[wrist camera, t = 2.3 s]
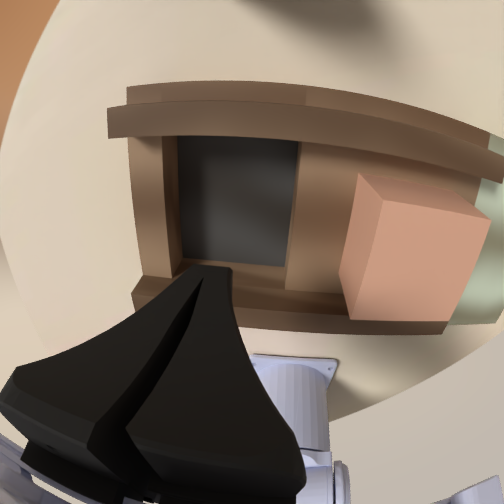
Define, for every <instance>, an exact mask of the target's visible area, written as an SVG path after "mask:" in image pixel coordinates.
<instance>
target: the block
mask: <svg viewBox="0 0 504 504" xmlns="http://www.w3.org/2000/svg"><path fill="white" fill-rule="evenodd" d="M491 221H492V220H491V219H489V218H488V217H487V216H486V215H485V214H483V213H482V212H481V211H480V210H478V209H477V208H476V207H474V206H473V205H472V204H470V203H469V202H468V201H466V200H465V199H464V198H462V197H461V196H460V195H458V194H457V193H456V192H454V191H452V190H448V189H443V188H439V187H434V186H430V185H425V184H420V183H415V182H410V181H405V180H399V179H394V178H388V177H382V176H376V175H370V174H364V173H358V179H357V185H356V191H355V196H354V202H353V207H352V212H351V218H350V223H349V227H348V232H347V237H346V242H345V246H344V251H343V255H342V260H341V264H340V268H339V272H338V274H339V277H340V281H341V285H342V289H343V292H344V296H345V300H346V304H347V308H348V312H349V317H350V319H351V320H379V321H449V320H450V318H451V316H452V314H453V312H454V310H455V308H456V306H457V304H458V302H459V300H460V298H461V296H462V294H463V292H464V290H465V287H466V285H467V283H468V281H469V279H470V276H471V274H472V272H473V269H474V267H475V264H476V262H477V260H478V257H479V255H480V252H481V249H482V247H483V244H484V241H485V239H486V236H487V233H488V230H489V227H490V224H491Z"/></svg>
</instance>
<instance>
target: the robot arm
mask: <svg viewBox="0 0 504 504" xmlns="http://www.w3.org/2000/svg"><path fill="white" fill-rule="evenodd" d="M232 284H233V270H232V269H231V268H230V267H223V266H212V265H202V264H193V265H192V266H191V267H189V268H188V269H187V270H186V271H185V272H184V273H182V274H181V275H180V276H179V277H178V278H177V279H176V280H175V281H173V282H172V283H171V284H170V285H169V286H168V287H167V288H165V289H164V290H163V291H162V292H161V293H159V294H158V295H157V296H156V297H155V298H154V299H152V300H151V301H150V302H148V303H147V304H146V305H144V306H143V307H142V308H141V309H139V310H138V311H137V312H135V313H134V314H132V315H131V316H129V317H128V318H126V319H125V320H123V321H122V322H120V323H119V324H117V325H115V326H114V327H112V328H110V329H109V330H107V331H105V332H103V333H101V334H99V335H98V336H96V337H94V338H92V339H90V340H88V341H86V342H84V343H82V344H80V345H78V346H76V347H73V348H71V349H69V350H66V351H64V352H61V353H59V354H56V355H54V356H51V357H48V358H45V359H42V360H39V361H36V362H32V363H29V364H26V365H22V366H18V367H16V369H15V370H14V372H13V373H12V375H11V376H10V378H9V379H8V381H7V383H6V384H5V386H4V388H3V389H2V391H1V393H0V412H1V413H2V415H3V416H4V417H5V418H6V419H7V420H8V421H9V422H10V423H11V424H12V425H13V426H14V427H15V428H16V429H17V430H18V431H20V432H21V434H23V435H24V436H25V437H26V438H27V439H28V440H29V441H28V443H27V445H26V447H25V449H23V448H21V447H20V446H18V445H17V444H15V443H14V442H12V441H11V440H9V439H8V438H6V437H5V436H3V435H2V434H1V433H0V504H71V503H68V502H66V501H65V500H63V499H61V498H59V497H57V496H55V495H54V494H52V493H50V492H48V491H46V490H44V489H43V488H41V487H39V486H38V485H36V484H35V483H34V482H33V480H32V476H31V474H32V475H34V476H35V477H37V478H39V479H40V480H42V481H44V482H45V483H47V484H49V485H51V486H53V487H54V488H56V489H58V490H60V491H62V492H64V493H66V494H68V495H70V496H72V497H74V498H76V499H78V500H80V501H82V502H84V503H87V504H145V503H143V501H146V502H149V503H154V502H155V503H158V504H350V480H349V472H348V467H347V466H346V465H345V464H343V463H342V461H334V473H332V452H331V451H330V440H329V423H328V409H327V396H326V391H327V388H328V386H329V384H330V381H331V379H332V377H333V374H334V372H335V369H336V367H337V361H336V360H335V359H314V358H295V357H280V356H267V355H256V354H253V355H250V356H248V353H247V351H246V348H245V346H244V343H243V340H242V338H241V335H240V331H239V328H238V325H237V321H236V317H235V313H234V308H233V303H232ZM431 504H504V500H503V494H502V490H501V485H500V480H499V476H498V475H495V476H493V477H490V478H488V479H486V480H484V481H481V482H479V483H477V484H474V485H472V486H470V487H468V488H466V489H463V490H461V491H459V492H457V493H456V494H454V495H453V496H452V497H449V498H447V499H444V500H440V501H437V502H434V503H431Z"/></svg>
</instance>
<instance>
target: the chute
mask: <svg viewBox="0 0 504 504" xmlns="http://www.w3.org/2000/svg"><path fill="white" fill-rule="evenodd" d="M107 122H108V139H110V138H124V137H128V153H129V168H130V180H131V191H132V200H133V209H134V218H135V225H136V233H137V240H138V247H139V253H140V259H141V265H142V271H143V276H142V277H141V279H140V280H139V282H138V284H137V285H136V287H135V288H134V290H133V291H132V293H131V296H132V300H133V304H134V308H135V312H137V311H138V310H139V309H141V308H142V307H143V306H144V305H146V304H147V303H148V302H150V301H151V300H152V299H154V298H155V297H156V296H157V295H158V294H159V293H161V292H162V291H163V290H164V289H165V288H167V287H168V286H169V285H170V284H171V283H172V282H173V281H175V280H176V279H177V278H178V277H179V276H180V275H181V274H182V273H184V272H185V271H186V270H187V269H188V268H189V267H191V266H192V265H193V264H202V265H212V266H223V267H230V268H231V269H232V270H233V284H232V303H233V308H234V313H235V317H236V321H237V325H238V327H246V328H257V329H268V330H280V331H293V332H309V333H327V334H353V335H438V334H442V333H443V331H444V329H445V327H446V326H447V325H468V324H490V323H496V321H497V320H498V318H499V316H500V315H501V313H502V311H503V309H504V139H503V138H500V137H498V136H496V135H494V134H491V133H489V132H487V131H484V130H482V129H479V128H477V127H474V126H472V125H469V124H466V123H464V122H461V121H458V120H455V119H452V118H450V117H447V116H444V115H441V114H437V113H434V112H431V111H428V110H424V109H421V108H418V107H414V106H410V105H407V104H403V103H399V102H395V101H391V100H387V99H382V98H378V97H373V96H368V95H364V94H358V93H353V92H347V91H342V90H335V89H329V88H322V87H314V86H306V85H297V84H286V83H273V82H256V81H187V82H170V83H158V84H147V85H138V86H130V87H127V105H123V106H117V107H111V108H107ZM358 173H364V174H370V175H376V176H382V177H388V178H394V179H399V180H405V181H410V182H415V183H420V184H425V185H430V186H434V187H439V188H443V189H448V190H452V191H454V192H456V193H457V194H458V195H460V196H461V197H462V198H464V199H465V200H466V201H468V202H469V203H470V204H472V205H473V206H474V207H476V208H477V209H478V210H480V211H481V212H482V213H483V214H485V215H486V216H487V217H488V218H489V219H491V220H492V221H491V224H490V227H489V230H488V233H487V236H486V239H485V241H484V244H483V247H482V249H481V252H480V255H479V257H478V260H477V262H476V264H475V267H474V269H473V272H472V274H471V276H470V279H469V281H468V283H467V285H466V287H465V290H464V292H463V294H462V296H461V298H460V300H459V302H458V304H457V306H456V308H455V310H454V312H453V314H452V316H451V318H450V320H449V321H379V320H351V319H350V317H349V312H348V308H347V304H346V300H345V296H344V292H343V289H342V285H341V281H340V277H339V274H338V272H339V268H340V264H341V260H342V255H343V251H344V246H345V242H346V237H347V232H348V227H349V223H350V218H351V212H352V207H353V202H354V196H355V191H356V185H357V179H358Z"/></svg>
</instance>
